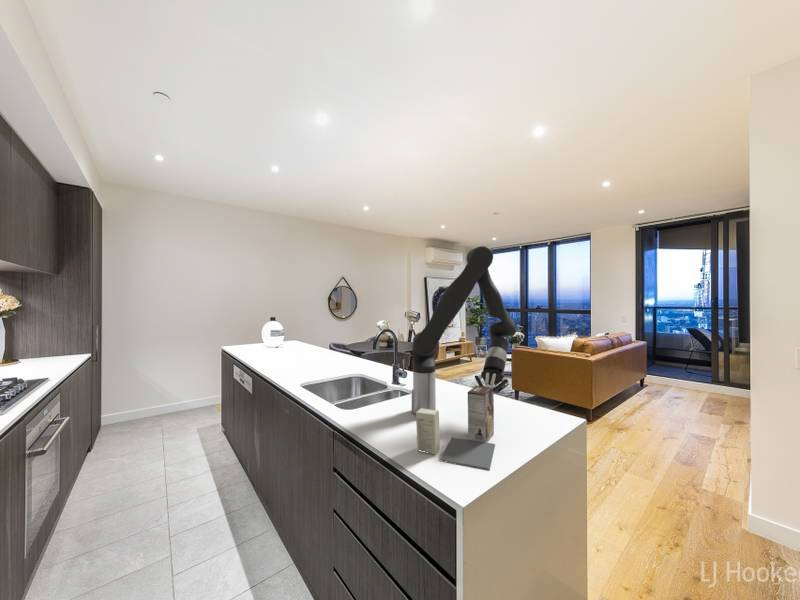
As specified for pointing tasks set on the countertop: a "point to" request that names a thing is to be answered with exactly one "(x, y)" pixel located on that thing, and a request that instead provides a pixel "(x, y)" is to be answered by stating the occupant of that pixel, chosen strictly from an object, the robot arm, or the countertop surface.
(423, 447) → the skincare box
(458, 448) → the mat
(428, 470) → the countertop surface
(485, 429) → the coffee box
